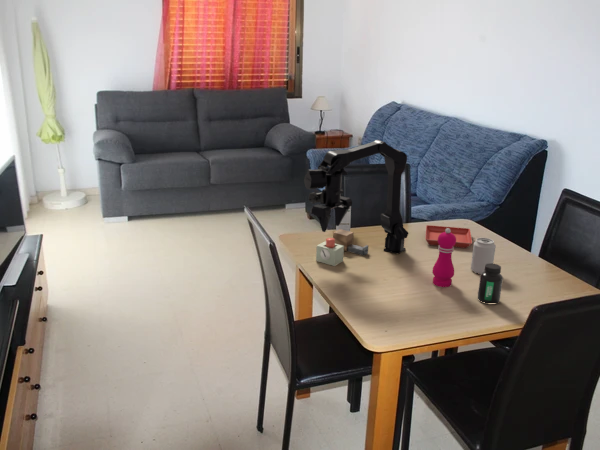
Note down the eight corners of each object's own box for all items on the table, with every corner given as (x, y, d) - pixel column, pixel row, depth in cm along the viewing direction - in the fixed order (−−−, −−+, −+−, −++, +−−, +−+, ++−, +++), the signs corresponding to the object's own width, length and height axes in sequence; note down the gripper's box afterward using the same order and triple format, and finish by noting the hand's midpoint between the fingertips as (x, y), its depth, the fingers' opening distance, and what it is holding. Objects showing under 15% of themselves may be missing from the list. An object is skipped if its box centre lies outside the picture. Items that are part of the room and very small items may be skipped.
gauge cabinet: (343, 261, 220) (343, 245, 218) (333, 266, 215) (334, 250, 213) (324, 255, 224) (325, 241, 222) (315, 261, 219) (315, 245, 217)
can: (493, 269, 216) (497, 238, 212) (490, 277, 209) (494, 245, 205) (472, 265, 219) (476, 235, 215) (468, 273, 212) (472, 241, 208)
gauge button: (336, 249, 218) (336, 239, 217) (331, 251, 216) (331, 241, 215) (328, 247, 220) (329, 237, 219) (324, 249, 218) (324, 239, 216)
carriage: (352, 247, 232) (353, 232, 230) (345, 251, 228) (346, 235, 226) (339, 244, 236) (340, 229, 233) (332, 247, 232) (333, 232, 230)
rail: (367, 253, 228) (368, 245, 227) (364, 255, 225) (364, 247, 224) (334, 244, 236) (335, 237, 235) (330, 246, 233) (330, 239, 232)
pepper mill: (440, 289, 198) (446, 233, 192) (426, 281, 204) (432, 226, 198) (457, 285, 202) (464, 230, 195) (443, 277, 208) (449, 223, 201)
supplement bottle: (490, 307, 187) (495, 272, 183) (472, 299, 192) (477, 264, 188) (503, 301, 191) (509, 267, 187) (486, 294, 196) (490, 260, 192)
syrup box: (350, 235, 246) (352, 202, 241) (335, 235, 246) (337, 201, 241) (349, 231, 251) (351, 198, 246) (335, 230, 251) (336, 197, 247)
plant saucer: (424, 246, 237) (425, 238, 236) (425, 231, 254) (426, 224, 253) (471, 251, 234) (472, 243, 233) (469, 235, 250) (470, 228, 249)
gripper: (328, 178, 223) (326, 218, 228) (299, 187, 208) (297, 230, 213) (354, 183, 217) (351, 224, 222) (325, 193, 202) (323, 237, 207)
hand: (330, 228), depth 216 cm, fingers open, 9 cm apart
